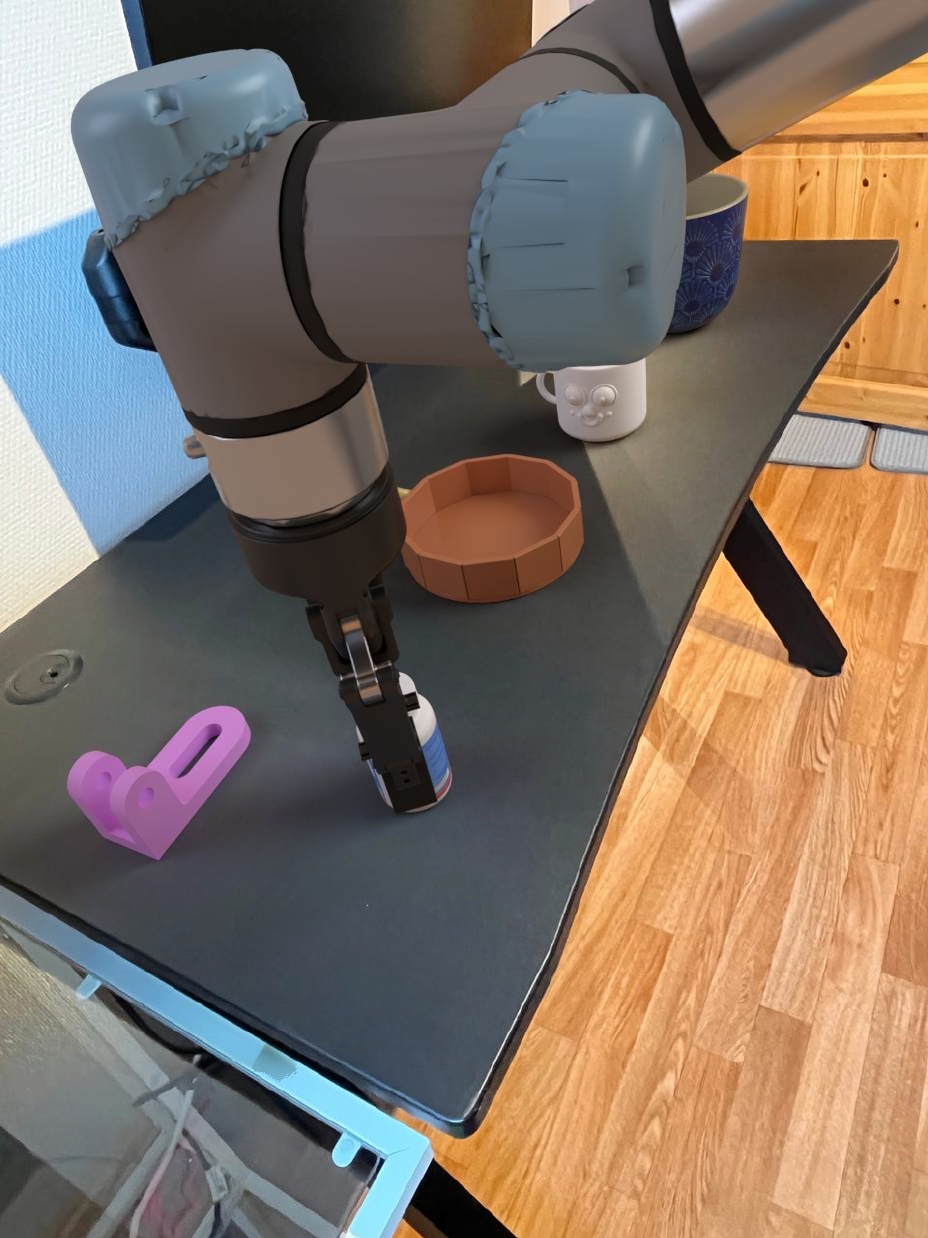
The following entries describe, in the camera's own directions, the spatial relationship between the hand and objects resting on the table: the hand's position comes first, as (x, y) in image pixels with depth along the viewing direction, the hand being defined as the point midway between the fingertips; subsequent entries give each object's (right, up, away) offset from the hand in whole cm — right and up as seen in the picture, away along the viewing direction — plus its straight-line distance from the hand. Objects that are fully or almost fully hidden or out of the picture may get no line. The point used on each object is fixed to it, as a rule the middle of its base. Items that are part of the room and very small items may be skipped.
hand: (414, 798), depth 52 cm
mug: (+17, +33, +42) cm, 56 cm away
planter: (+31, +50, +58) cm, 83 cm away
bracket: (-18, -1, +13) cm, 23 cm away
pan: (+1, +20, +31) cm, 37 cm away
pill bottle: (0, -1, +9) cm, 9 cm away
